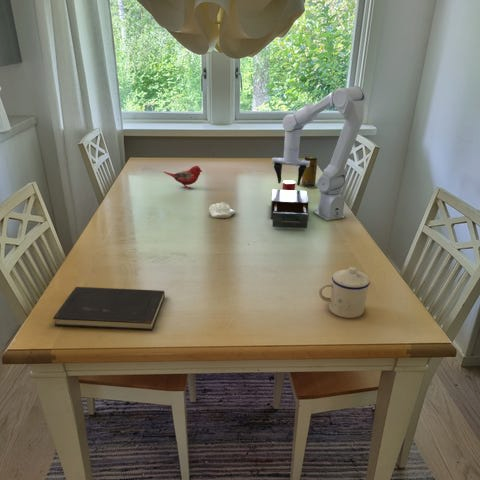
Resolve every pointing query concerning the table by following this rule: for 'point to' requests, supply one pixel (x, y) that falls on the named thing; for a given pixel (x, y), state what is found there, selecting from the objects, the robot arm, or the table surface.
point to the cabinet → (288, 198)
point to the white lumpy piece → (221, 210)
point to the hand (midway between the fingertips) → (288, 183)
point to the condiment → (310, 173)
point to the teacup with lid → (347, 293)
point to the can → (288, 185)
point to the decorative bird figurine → (187, 176)
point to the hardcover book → (110, 308)
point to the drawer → (290, 215)
